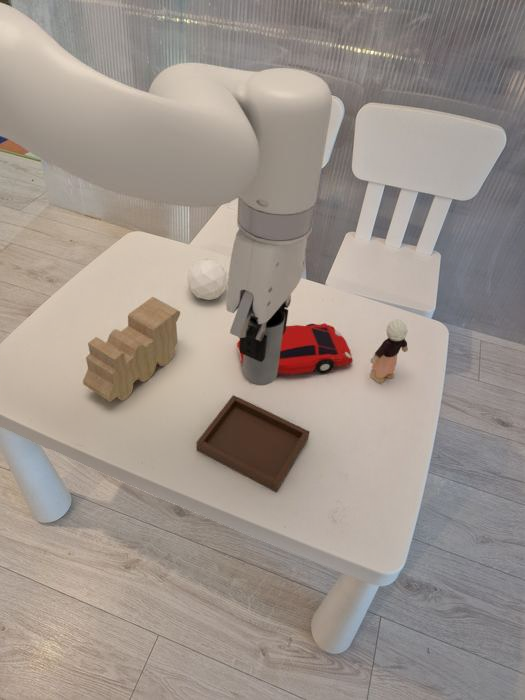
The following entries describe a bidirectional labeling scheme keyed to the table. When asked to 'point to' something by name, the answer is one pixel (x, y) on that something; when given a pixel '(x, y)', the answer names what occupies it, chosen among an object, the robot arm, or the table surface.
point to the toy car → (311, 349)
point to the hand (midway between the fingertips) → (262, 341)
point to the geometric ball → (207, 279)
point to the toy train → (132, 350)
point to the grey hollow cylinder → (269, 366)
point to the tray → (253, 442)
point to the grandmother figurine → (389, 351)
